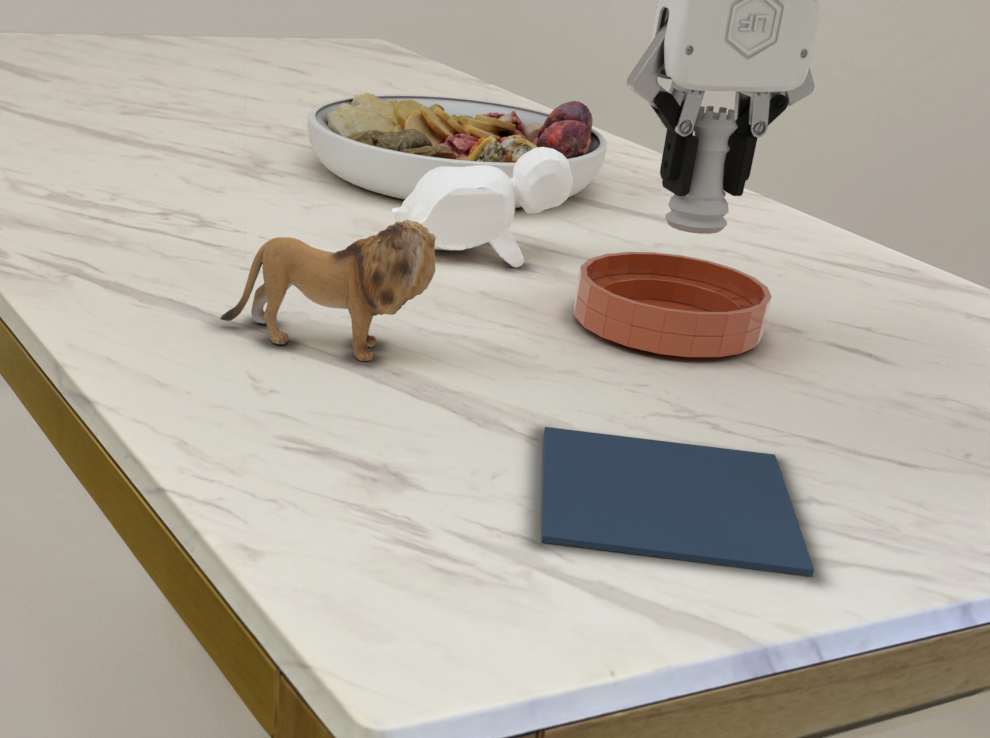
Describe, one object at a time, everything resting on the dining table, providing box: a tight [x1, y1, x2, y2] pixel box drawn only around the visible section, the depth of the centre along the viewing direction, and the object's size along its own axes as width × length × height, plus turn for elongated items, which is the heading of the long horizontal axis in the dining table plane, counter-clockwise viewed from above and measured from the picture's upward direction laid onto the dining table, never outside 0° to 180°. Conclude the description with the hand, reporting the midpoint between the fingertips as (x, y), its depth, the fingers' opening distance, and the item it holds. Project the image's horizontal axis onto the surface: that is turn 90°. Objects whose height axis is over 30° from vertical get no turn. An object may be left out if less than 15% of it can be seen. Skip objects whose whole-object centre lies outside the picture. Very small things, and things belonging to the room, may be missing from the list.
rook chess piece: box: [664, 105, 738, 235], centre depth 89 cm, size 4×4×8 cm
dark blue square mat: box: [541, 426, 815, 577], centre depth 71 cm, size 14×14×1 cm
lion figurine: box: [219, 220, 436, 362], centre depth 85 cm, size 15×5×9 cm, turn 79°
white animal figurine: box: [391, 147, 573, 268], centre depth 106 cm, size 9×8×15 cm
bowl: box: [307, 92, 608, 209], centre depth 128 cm, size 30×30×8 cm
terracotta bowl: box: [573, 251, 773, 358], centre depth 95 cm, size 14×14×4 cm
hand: (702, 188), depth 90 cm, fingers closed on rook chess piece, 3 cm apart
